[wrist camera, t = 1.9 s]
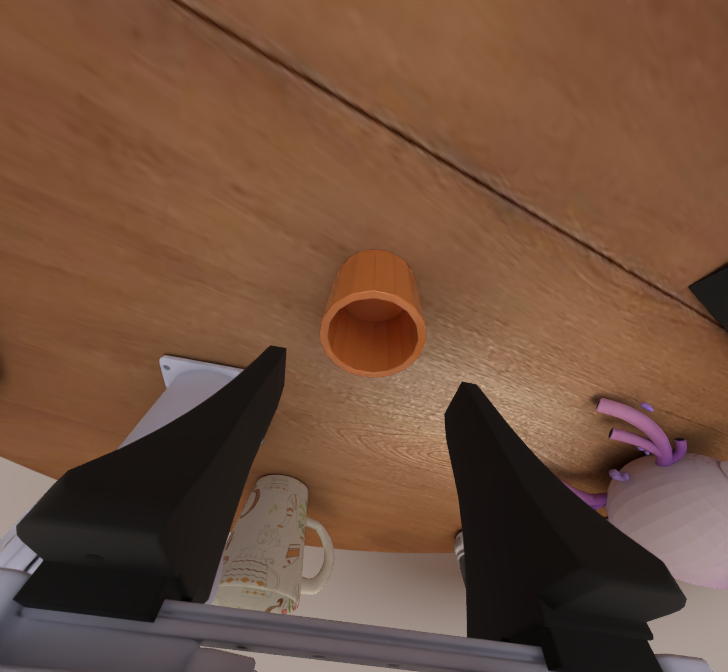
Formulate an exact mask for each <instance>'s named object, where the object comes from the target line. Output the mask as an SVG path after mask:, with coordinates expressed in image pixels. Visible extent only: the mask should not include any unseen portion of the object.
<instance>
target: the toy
mask: <svg viewBox="0 0 728 672" xmlns="http://www.w3.org/2000/svg"><path fill="white" fill-rule="evenodd" d="M640 405H641V406H642V407H643V408H644V409H646V410H648V411H651V412H653V408H652V406H651V405H649V404H647V403H641V404H640ZM596 411H597V412H601V413H605V414H609V415H612V416H615V417H618V418H620V419H623V420H625V421H627V422H629V423H631V424H633V425H634V426H636V427H637V428H639V429H640V430H641V431H643V432H644V433H645V434H646V435H647V436H648V437H649V438H650V439H651V440H649V439H647V438H645V437H642V436H640V435H637V434H634V433H631V432H628V431H625V430H621V429H617V428H612V429H611V430H610V433H609V439H614V440H619V441H623V442H627V443H630V444H633V445H636V446H638V447H637V449H638V450H641V451H644V449H646V450H647V451H645V453H646V454H647V456H644V457H640V458H637V459H635V460H633V461H631V462H629V463H628V464H626V465H625V466H624V467H623V468H622V469H621V470H620V471H619V472H618V471H617V470H616V469H611V470H610V471H609V475H610V476H611V477H612V478H613V479H612V480H611V483H610V485H609V488H608V490H607V493H599V494H589V493H586V492H583V491H581V490H578V489H576V488H574V487H572V486H570V485H568V484H566V483H565V482H563V481H562V480H561V481H562V482H563V483H564V484H565V485H566V486H567V487H568V488H569V489H571V490H572V491H573V492H574V493H575V494H576V495H577V496H579V497H580V498H581V499H582V500H583V501H584V502H585V503H587V504H588V505H589V506H590V507H591V508H593V509H594V510H596V509H599V508H601V507H603V506H605V505H606V511H607V515H608V518H609V521H610V523H611V524H613V525H614V526H615V527H617V528H618V529H619V530H620V531H622V532H623V533H624V534H626V535H627V536H629V537H630V538H631V539H633V540H634V541H635V542H637V543H638V544H640V545H641V546H642V547H644V548H645V549H647V550H648V551H649V552H651V553H652V554H654V555H655V556H656V557H658V558H659V559H661V560H662V561H663V562H664V564H665V565H666V567H667V568H668V570H669V571H670V573H671V575H672V576H673V578H676V579H679V580H682V581H684V582H687V583H690V584H694V585H699V586H703V587H709V588H716V589H728V461H721V460H718V459H715V458H712V457H709V456H705V455H700V454H695V453H688V452H686V451H687V443H686V439H684V438H676V439H674V440H675V443H676V447H675V449H674V450H673V451H672V448H671V445H670V443H669V440H668V438H667V436H666V435H665V433H664V432H663V431H662V429H661V428H660V427H659V425H658V424H656V423H655V422H654V421H653V420H651V419H650V418H649V417H647V416H646V415H645V414H643V413H641V412H640V411H638V410H636V409H634V408H632V407H630V406H628V405H625V404H622V403H619V402H616V401H613V400H609V399H605V398H601V399H600V400H599V401H598V403H597V406H596ZM648 451H649V452H651V453H653V454H651V455H649V452H648ZM556 477H557V476H556ZM557 478H558V477H557Z"/></svg>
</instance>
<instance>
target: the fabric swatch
mask: <svg viewBox="0 0 728 672" xmlns="http://www.w3.org/2000/svg"><path fill="white" fill-rule="evenodd" d="M689 288H690V290H691V291H692V292H693V293H694V294H695V295H696V296H697V297H698V298H699V300H700V301H701V302H702V303H703V304H704V305H705V306H706V307H707V309H708V310H709V311H710V312H711V313H712V314H713V315H714V316H715V318H716V319H717V320H718V321H719V322H720V323H721V324H722V325H723V326H724V328H725V329H726V330H727V331H728V267H727V268H725V269H723V270H721V271H719V272H717V273H715V274H713V275H711V276H709V277H707V278H706V279H704V280H702V281H700V282H698V283H696V284H694V285H692V286H690V287H689Z"/></svg>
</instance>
